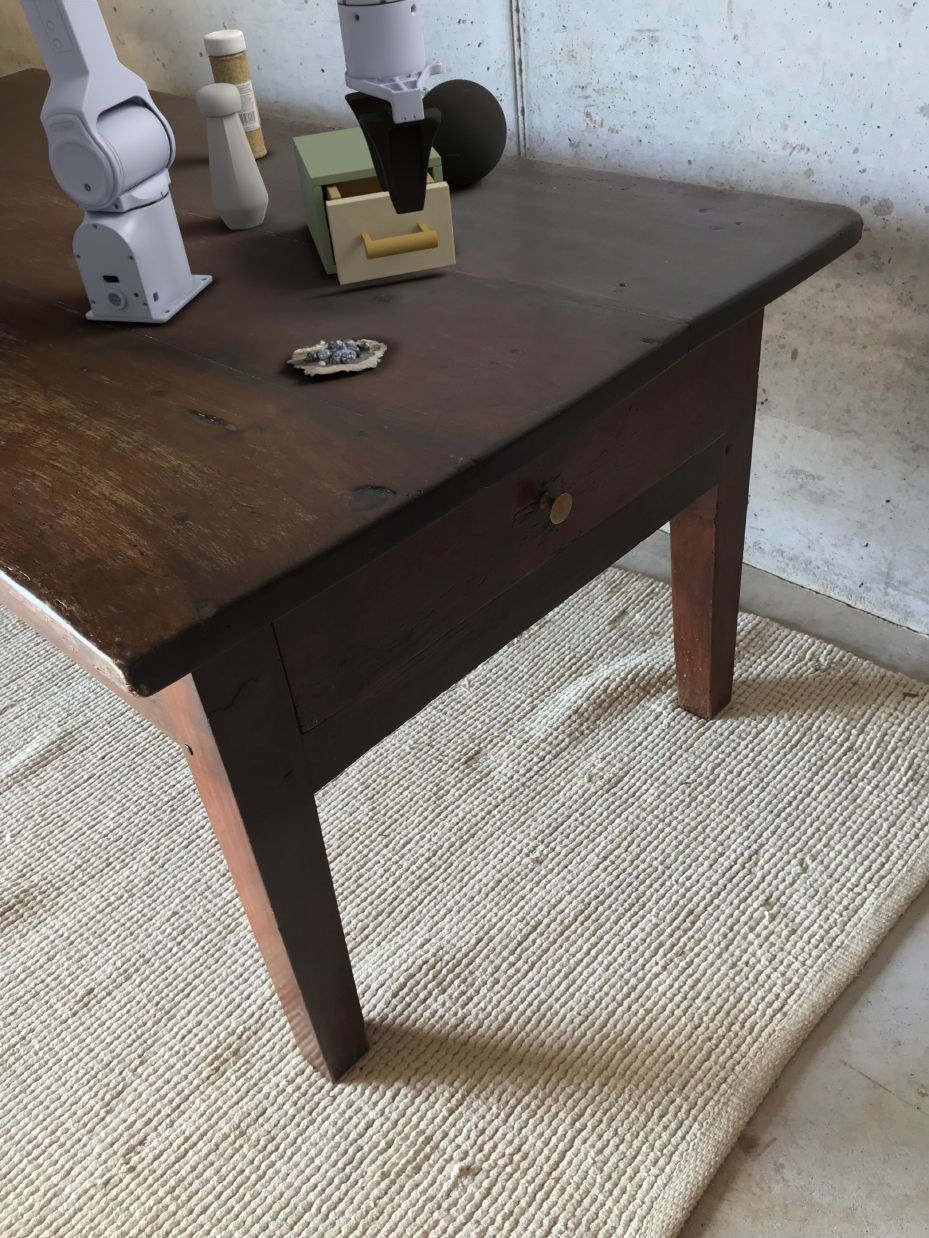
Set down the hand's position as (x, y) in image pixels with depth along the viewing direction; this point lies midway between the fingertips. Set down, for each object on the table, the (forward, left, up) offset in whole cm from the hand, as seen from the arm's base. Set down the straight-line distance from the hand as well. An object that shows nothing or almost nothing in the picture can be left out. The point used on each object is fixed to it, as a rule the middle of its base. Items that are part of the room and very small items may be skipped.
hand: (402, 200), depth 79 cm
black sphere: (+34, +6, -10) cm, 35 cm away
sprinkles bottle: (+43, +36, -10) cm, 56 cm away
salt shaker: (+21, +26, -10) cm, 34 cm away
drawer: (+10, +6, -9) cm, 14 cm away
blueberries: (-8, +4, -10) cm, 13 cm away
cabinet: (+17, +10, -9) cm, 21 cm away
